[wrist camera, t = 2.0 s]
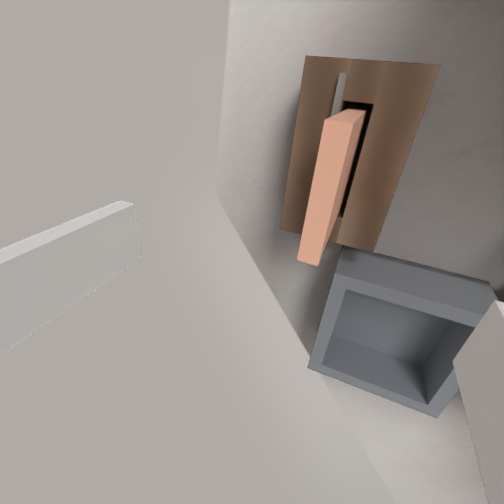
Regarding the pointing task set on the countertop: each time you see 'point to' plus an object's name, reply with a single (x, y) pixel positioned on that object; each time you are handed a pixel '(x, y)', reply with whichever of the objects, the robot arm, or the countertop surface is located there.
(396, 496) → the countertop surface
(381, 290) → the collection bin
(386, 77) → the dispenser
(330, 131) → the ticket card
